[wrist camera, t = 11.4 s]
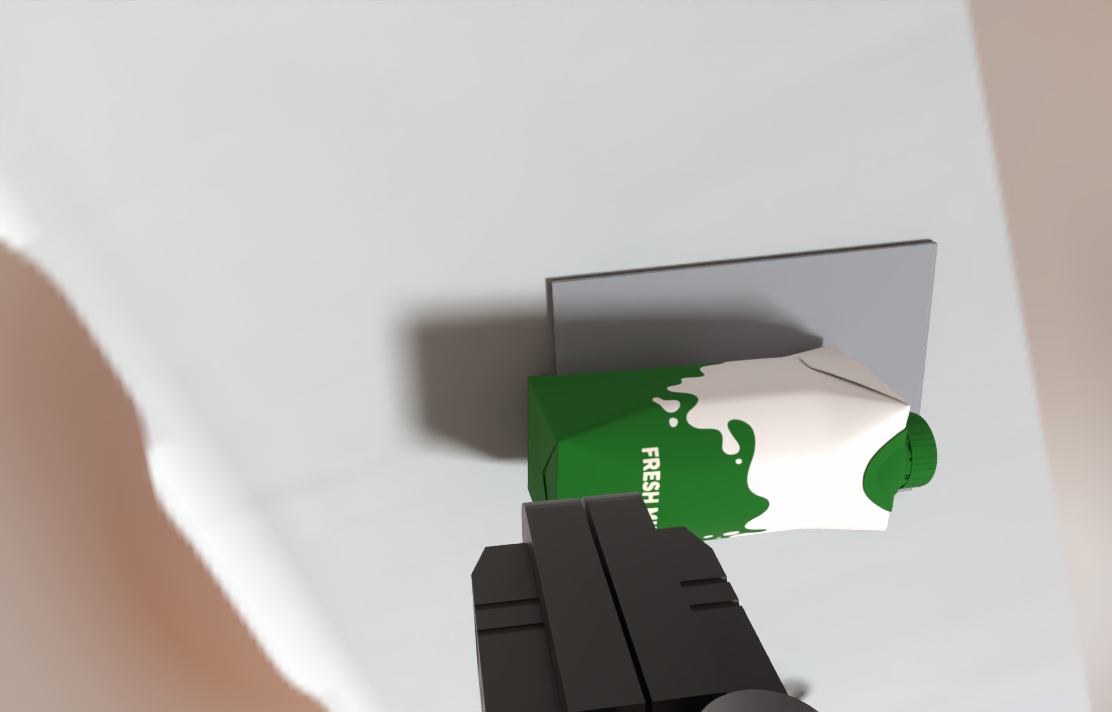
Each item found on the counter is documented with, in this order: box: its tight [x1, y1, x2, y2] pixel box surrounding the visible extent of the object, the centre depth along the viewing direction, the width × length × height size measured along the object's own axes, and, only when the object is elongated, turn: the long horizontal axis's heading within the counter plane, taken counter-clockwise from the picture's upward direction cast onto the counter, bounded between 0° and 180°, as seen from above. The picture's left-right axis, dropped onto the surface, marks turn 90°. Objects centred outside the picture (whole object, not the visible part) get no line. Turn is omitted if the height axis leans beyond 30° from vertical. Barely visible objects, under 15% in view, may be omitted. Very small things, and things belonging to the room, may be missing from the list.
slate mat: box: [551, 242, 938, 492], centre depth 53 cm, size 16×22×1 cm
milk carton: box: [528, 344, 937, 541], centre depth 48 cm, size 9×9×20 cm
